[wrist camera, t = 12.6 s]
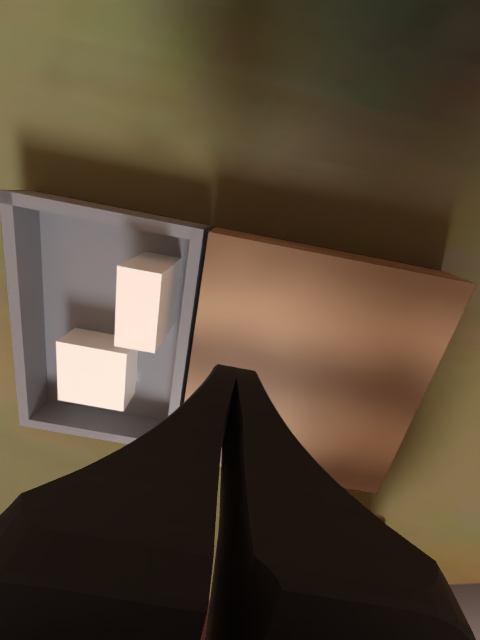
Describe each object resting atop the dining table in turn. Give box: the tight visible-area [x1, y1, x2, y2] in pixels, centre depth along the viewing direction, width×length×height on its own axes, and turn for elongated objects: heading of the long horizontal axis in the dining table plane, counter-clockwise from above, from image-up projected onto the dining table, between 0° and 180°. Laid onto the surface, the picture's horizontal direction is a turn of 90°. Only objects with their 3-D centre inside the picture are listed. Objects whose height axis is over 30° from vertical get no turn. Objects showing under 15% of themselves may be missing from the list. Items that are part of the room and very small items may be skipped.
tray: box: [0, 190, 210, 444], centre depth 19 cm, size 14×10×2 cm
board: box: [184, 227, 477, 494], centre depth 19 cm, size 14×13×3 cm
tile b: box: [114, 252, 181, 353], centre depth 16 cm, size 4×4×2 cm
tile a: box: [56, 328, 138, 412], centre depth 19 cm, size 4×4×2 cm
